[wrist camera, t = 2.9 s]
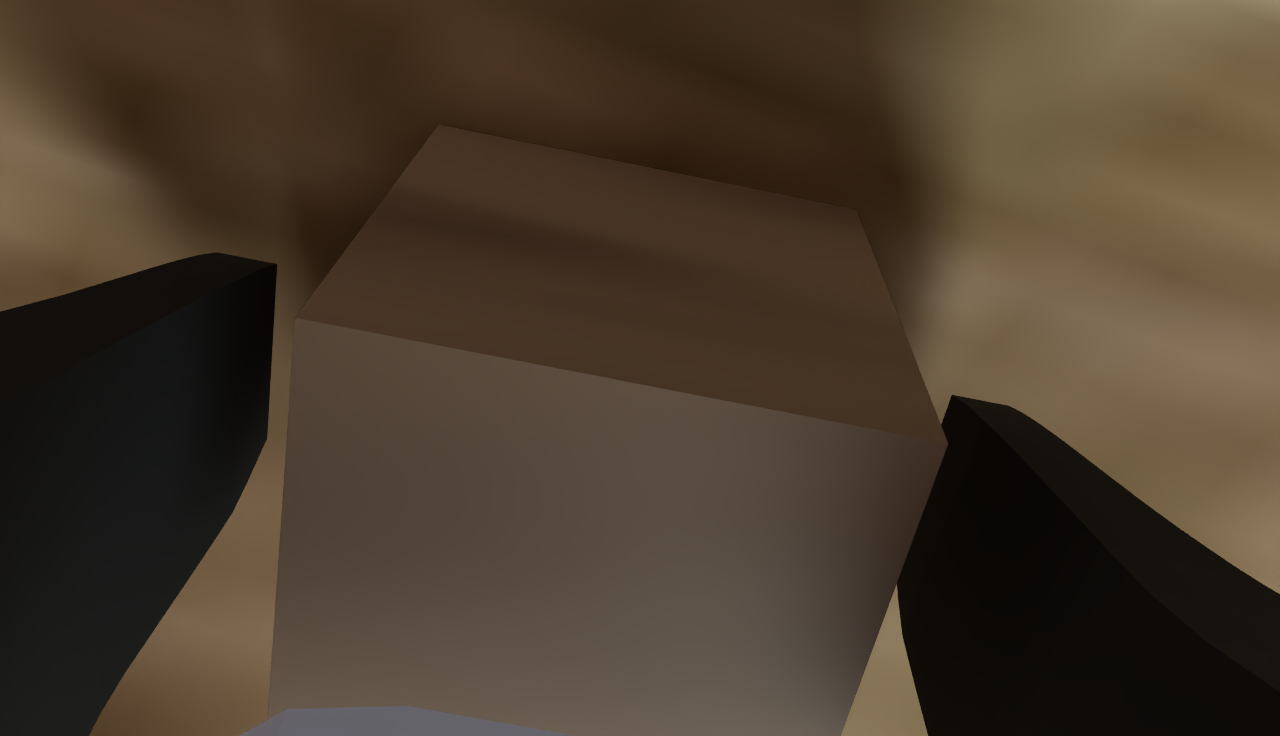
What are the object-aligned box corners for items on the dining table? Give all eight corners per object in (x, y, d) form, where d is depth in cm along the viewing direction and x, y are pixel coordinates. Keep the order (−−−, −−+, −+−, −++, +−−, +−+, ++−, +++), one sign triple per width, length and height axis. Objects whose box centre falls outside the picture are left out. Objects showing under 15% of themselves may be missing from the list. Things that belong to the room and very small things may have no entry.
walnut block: (755, 545, 14) (785, 886, 10) (397, 479, 14) (262, 797, 10) (854, 207, 12) (947, 443, 8) (439, 123, 12) (294, 318, 8)
